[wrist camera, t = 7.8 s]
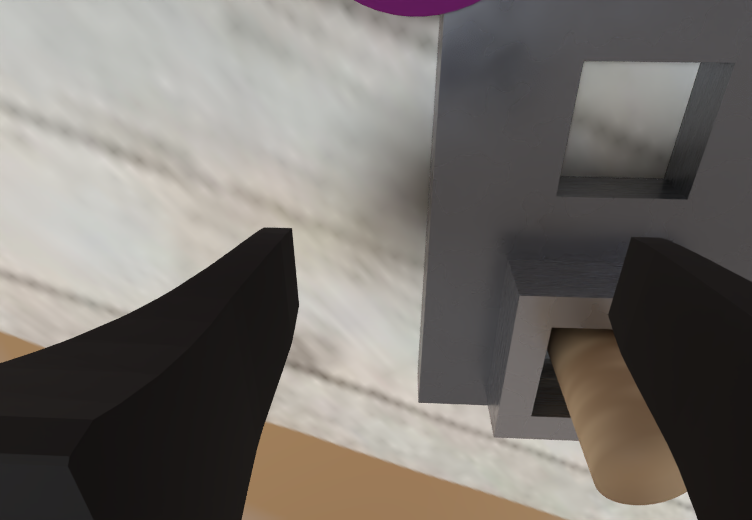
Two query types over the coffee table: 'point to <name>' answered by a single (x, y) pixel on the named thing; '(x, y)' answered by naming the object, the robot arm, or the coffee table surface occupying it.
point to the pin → (612, 419)
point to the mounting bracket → (417, 6)
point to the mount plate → (564, 188)
